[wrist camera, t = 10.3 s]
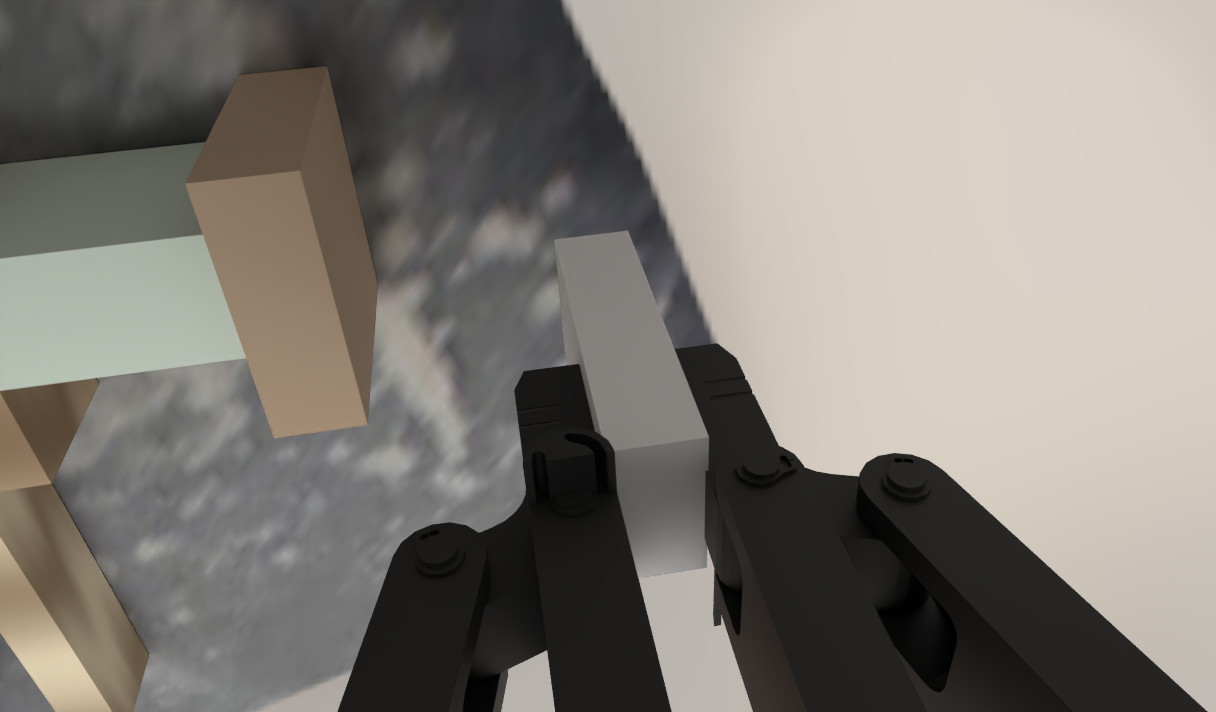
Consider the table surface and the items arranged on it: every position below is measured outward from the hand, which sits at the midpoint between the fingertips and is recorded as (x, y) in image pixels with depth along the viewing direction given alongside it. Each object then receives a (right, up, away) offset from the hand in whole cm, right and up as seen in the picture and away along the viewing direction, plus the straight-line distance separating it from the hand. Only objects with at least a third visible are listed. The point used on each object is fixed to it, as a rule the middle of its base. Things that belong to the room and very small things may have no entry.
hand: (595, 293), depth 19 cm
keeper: (-12, +2, +3) cm, 13 cm away
